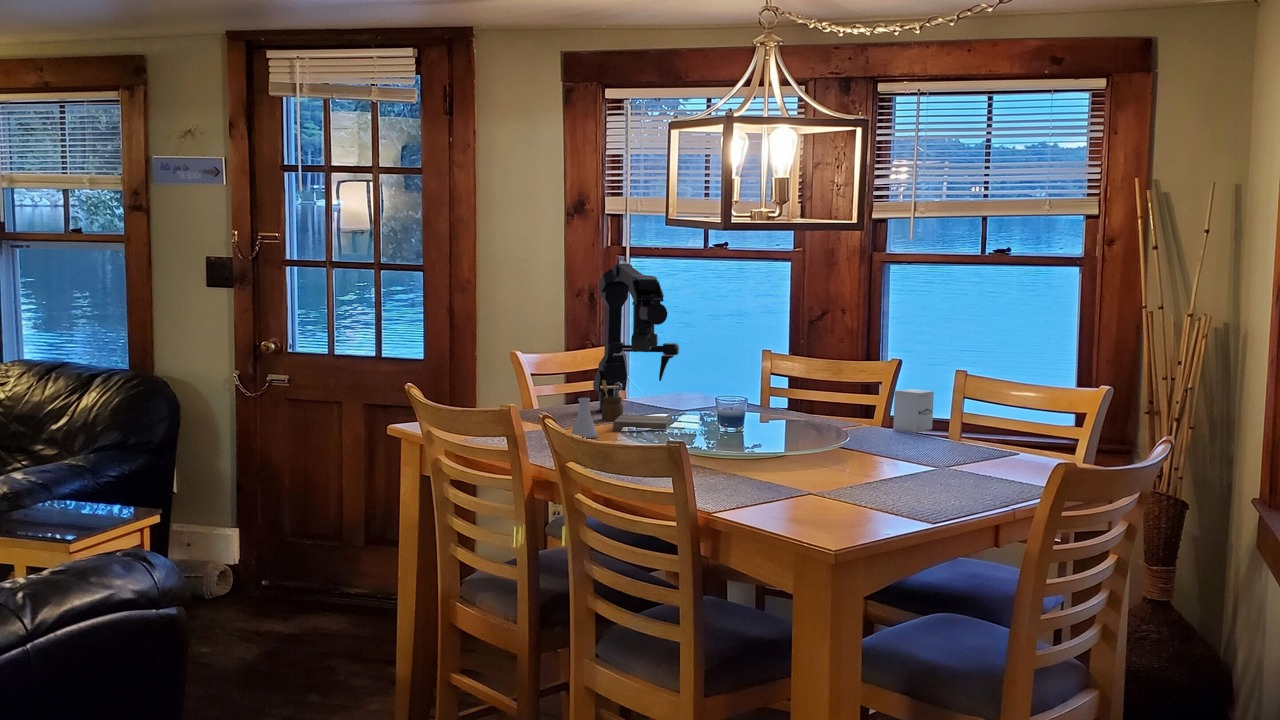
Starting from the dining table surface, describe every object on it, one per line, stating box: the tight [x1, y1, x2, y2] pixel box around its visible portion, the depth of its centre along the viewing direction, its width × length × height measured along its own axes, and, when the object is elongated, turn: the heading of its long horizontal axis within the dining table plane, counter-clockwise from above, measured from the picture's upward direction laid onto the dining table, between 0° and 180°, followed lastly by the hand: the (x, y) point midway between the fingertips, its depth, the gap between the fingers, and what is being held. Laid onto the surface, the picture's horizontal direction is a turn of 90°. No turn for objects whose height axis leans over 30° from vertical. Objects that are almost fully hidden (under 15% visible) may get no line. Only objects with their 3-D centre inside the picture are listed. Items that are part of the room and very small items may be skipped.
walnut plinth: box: [612, 414, 672, 432], centre depth 310 cm, size 14×14×2 cm
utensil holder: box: [601, 380, 624, 422], centre depth 321 cm, size 6×6×12 cm
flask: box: [571, 397, 598, 439], centre depth 293 cm, size 7×7×10 cm
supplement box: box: [892, 388, 934, 434], centre depth 296 cm, size 7×7×13 cm
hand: (643, 380), depth 309 cm, fingers open, 9 cm apart
